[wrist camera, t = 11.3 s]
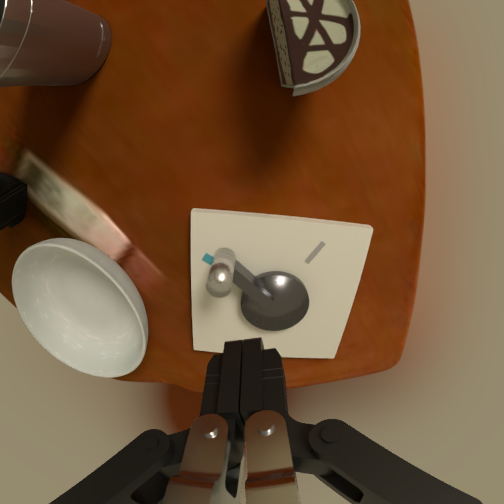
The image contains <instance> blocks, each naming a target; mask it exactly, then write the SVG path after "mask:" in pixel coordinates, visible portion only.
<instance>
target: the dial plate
mask: <svg viewBox="0 0 504 504" xmlns="http://www.w3.org/2000/svg"><path fill="white" fill-rule="evenodd" d="M372 233H373V228H372V227H371V226H370V225H365V224H357V223H349V222H340V221H331V220H322V219H313V218H303V217H293V216H283V215H273V214H262V213H250V212H238V211H226V210H212V209H198V208H193V209H192V211H191V296H192V326H193V347H194V350H200V351H209V352H219V353H223V350H224V343H225V341H234V340H244V339H251V338H258V337H261V338H262V341H263V345H264V349H271V348H276V350H277V351H278V352H279V354H280V355H281V357H295V358H334V357H335V354H336V351H337V349H338V346H339V343H340V340H341V337H342V334H343V331H344V329H345V326H346V323H347V320H348V317H349V314H350V310H351V307H352V304H353V301H354V298H355V294H356V291H357V288H358V284H359V281H360V278H361V274H362V271H363V267H364V263H365V260H366V256H367V252H368V248H369V245H370V241H371V237H372ZM220 248H229V249H231V250H232V251H233V252H234V253H235V256H236V260H237V261H238V262H240V263H241V264H242V265H243V266H244V267H245V268H246V269H248V270H249V271H250V272H251V273H252V274H253V275H254V276H257V275H259V274H262V273H265V272H270V271H282V272H287V273H290V274H292V275H294V276H296V277H297V278H299V279H300V280H301V281H302V282H303V284H304V285H305V287H306V289H307V292H308V296H309V308H308V311H307V313H306V315H305V316H304V318H303V319H302V320H301V321H300V322H299V323H297V324H296V325H294V326H293V327H290V328H288V329H285V330H280V331H267V330H262V329H259V328H257V327H255V326H253V325H252V324H250V323H249V322H248V321H247V320H246V319H245V317H244V316H243V313H242V311H241V295H242V291H243V290H241V289H240V288H239V287H238V286H237V285H235V284H234V283H233V282H232V289H231V292H230V294H229V295H228V296H226V297H223V298H216V297H213V296H212V295H210V294H209V293H208V291H207V289H206V283H207V279H208V275H209V272H210V268H211V264H212V261H213V257H214V254H215V252H216V251H217V250H218V249H220Z"/></svg>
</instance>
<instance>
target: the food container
mask: <svg viewBox="0 0 504 504" xmlns="http://www.w3.org/2000/svg"><path fill="white" fill-rule="evenodd" d="M266 8H267V13H268V17H269V22H270V27H271V32H272V37H273V42H274V48H275V53H276V59H277V64H278V70H279V75H280V81H281V87H288V88H294V91H293V94H292V95H293V96H298V95H303V94H307V93H310V92H313V91H316V90H318V89H320V88H322V87H324V86H326V85H328V84H330V83H331V82H332V81H334V80H335V79H337V78H338V77H339V76H340V75H341V74H342V73H343V72H344V71H345V70H346V68H347V67H348V65H349V64H350V62H351V61H352V59H353V56H354V54H355V52H356V50H357V48H358V43H359V39H360V20H359V15H358V12H357V9H356V6H355V4H354V2H353V0H266Z"/></svg>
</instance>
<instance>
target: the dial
mask: <svg viewBox="0 0 504 504" xmlns="http://www.w3.org/2000/svg"><path fill="white" fill-rule="evenodd" d="M232 282H233V283H234V284H235V285H237V286H238V287H239V288H240V289H241V290H243V291H242V295H241V311H242V313H243V316H244V317H245V319H246V320H247V321H248V322H249V323H250V324H252V325H253V326H255V327H257V328H259V329H262V330H267V331H280V330H285V329H288V328H290V327H293V326H294V325H296V324H297V323H299V322H300V321H301V320H302V319H303V318H304V316H305V315H306V313H307V311H308V308H309V296H308V292H307V289H306V287H305V285H304V284H303V282H302V281H301V280H300V279H299V278H297V277H296V276H294V275H292V274H290V273H287V272H282V271H270V272H265V273H262V274H259V275H257V276H254V275H253V274H252V273H251V272H250V271H249V270H248V269H246V268H245V267H244V266H243V265H242V264H241V263H240V262H238V261H237V260H236V256H235V253H234V252H233V251H232V250H231V249H229V248H220V249H218V250H217V251H216V252H215V254H214V257H213V261H212V264H211V268H210V272H209V275H208V279H207V283H206V289H207V291H208V293H209V294H210V295H212V296H213V297H216V298H223V297H226V296H228V295H229V294H230V292H231V289H232Z"/></svg>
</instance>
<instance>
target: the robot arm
mask: <svg viewBox="0 0 504 504" xmlns="http://www.w3.org/2000/svg"><path fill="white" fill-rule="evenodd" d="M110 44H111V31H110V27H109V25H108V23H107V22H106V21H105V20H104V19H103V18H102V17H100V16H98V15H96V14H94V13H92V12H90V11H88V10H86V9H84V8H82V7H79V6H77V5H75V4H72V3H70V2H68V1H65V0H0V87H11V86H39V85H47V86H72V85H77V84H80V83H82V82H84V81H86V80H87V79H89V78H90V77H91V76H93V75H94V74H95V73H96V72H97V71H98V69H99V68H100V67H101V66H102V64H103V62H104V61H105V59H106V57H107V54H108V52H109V49H110ZM244 442H245V443H246V458H247V474H248V477H247V480H246V482H245V495H246V504H301V502H300V497H299V491H298V485H297V479H296V473H295V472H301V473H308V474H314V475H315V476H316V477H317V478H318V479H319V480H321V481H322V482H323V483H325V484H326V485H327V486H329V487H330V488H331V489H332V490H334V491H335V492H336V493H338V494H339V495H341V496H342V497H343V498H345V499H346V500H347V501H349V502H350V503H352V504H482V502H481V501H480V500H478V499H477V498H474V497H472V496H470V495H468V494H466V493H464V492H462V491H460V490H458V489H456V488H454V487H452V486H450V485H448V484H446V483H444V482H443V481H441V480H439V479H437V478H435V477H433V476H431V475H430V474H428V473H426V472H424V471H422V470H421V469H419V468H417V467H415V466H414V465H412V464H410V463H408V462H407V461H405V460H403V459H402V458H400V457H398V456H397V455H395V454H393V453H392V452H390V451H388V450H387V449H385V448H384V447H382V446H380V445H379V444H377V443H376V442H374V441H372V440H371V439H369V438H368V437H366V436H365V435H363V434H362V433H360V432H359V431H357V430H355V429H354V428H352V427H351V426H349V425H348V424H346V423H345V422H343V421H341V420H337V419H327V420H324V421H321V422H319V423H317V424H316V425H312V424H305V423H300V422H297V421H295V420H294V419H292V418H291V417H290V416H289V414H288V404H287V392H286V381H285V375H284V369H283V363H282V357H281V355H280V354H279V352H278V351H277V350H276V348H271V349H264V345H263V341H262V338H261V337H258V338H251V339H244V340H234V341H225V343H224V350H223V354H219V355H214V356H213V357H212V359H211V360H210V362H209V363H208V366H207V372H206V378H205V385H204V391H203V398H202V405H201V411H200V416H199V418H197V419H196V420H195V421H194V422H193V423H192V425H191V427H190V428H189V429H187V430H184V431H182V432H178V433H174V434H170V435H166V433H164V432H163V431H161V430H158V429H151V430H147V431H145V432H143V433H142V434H140V435H139V436H138V437H137V438H136V439H134V440H133V441H132V442H130V443H129V444H128V445H127V446H126V447H124V448H123V449H122V450H121V451H119V452H118V453H117V454H116V455H114V456H113V457H112V458H110V459H109V460H108V461H107V462H105V463H104V464H103V465H101V466H100V467H99V468H98V469H96V470H95V471H94V472H92V473H91V474H90V475H88V476H87V477H86V478H84V479H83V480H82V481H80V482H79V483H78V484H76V485H75V486H73V487H72V488H71V489H69V490H68V491H67V492H65V493H64V494H62V495H61V496H59V497H58V498H57V499H55V500H54V501H52V502H51V503H50V504H240V493H241V484H242V477H243V468H244V454H243V448H244Z"/></svg>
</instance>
